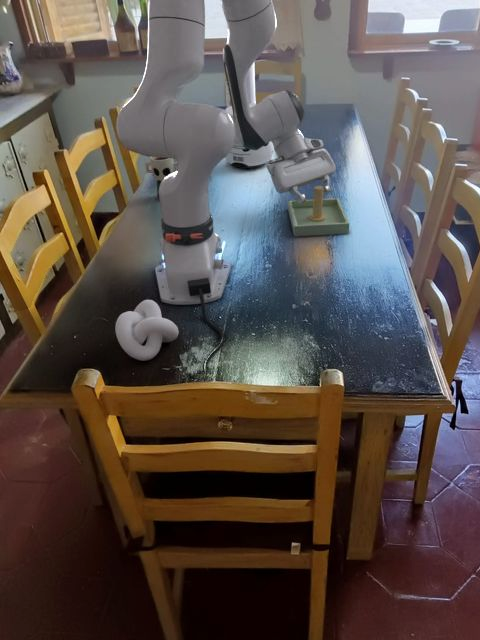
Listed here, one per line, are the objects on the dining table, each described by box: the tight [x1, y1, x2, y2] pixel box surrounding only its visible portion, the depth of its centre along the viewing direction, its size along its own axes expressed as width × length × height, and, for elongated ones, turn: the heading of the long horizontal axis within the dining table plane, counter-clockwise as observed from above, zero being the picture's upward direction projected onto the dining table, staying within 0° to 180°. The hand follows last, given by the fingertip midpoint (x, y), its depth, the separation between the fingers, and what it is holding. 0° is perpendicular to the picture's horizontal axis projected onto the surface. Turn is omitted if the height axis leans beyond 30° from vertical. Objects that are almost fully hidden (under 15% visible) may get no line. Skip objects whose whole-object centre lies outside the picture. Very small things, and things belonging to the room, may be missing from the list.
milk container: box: [224, 103, 274, 169], centre depth 182 cm, size 17×17×18 cm
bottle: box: [245, 62, 257, 104], centre depth 233 cm, size 8×8×30 cm
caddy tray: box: [287, 185, 350, 237], centre depth 147 cm, size 17×15×10 cm
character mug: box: [144, 156, 178, 199], centre depth 162 cm, size 11×7×13 cm, turn 87°
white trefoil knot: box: [114, 299, 180, 362], centre depth 104 cm, size 11×12×9 cm
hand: (316, 197), depth 146 cm, fingers open, 8 cm apart
